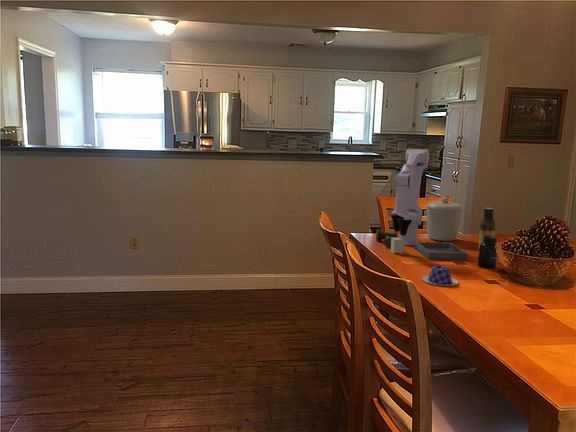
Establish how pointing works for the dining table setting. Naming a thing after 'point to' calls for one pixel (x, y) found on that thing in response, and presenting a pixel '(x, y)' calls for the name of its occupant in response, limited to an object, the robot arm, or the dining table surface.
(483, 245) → the supplement bottle
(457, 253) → the tray
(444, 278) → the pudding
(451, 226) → the canister
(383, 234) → the kendama
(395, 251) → the beige block
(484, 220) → the sauce bottle
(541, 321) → the dining table surface
